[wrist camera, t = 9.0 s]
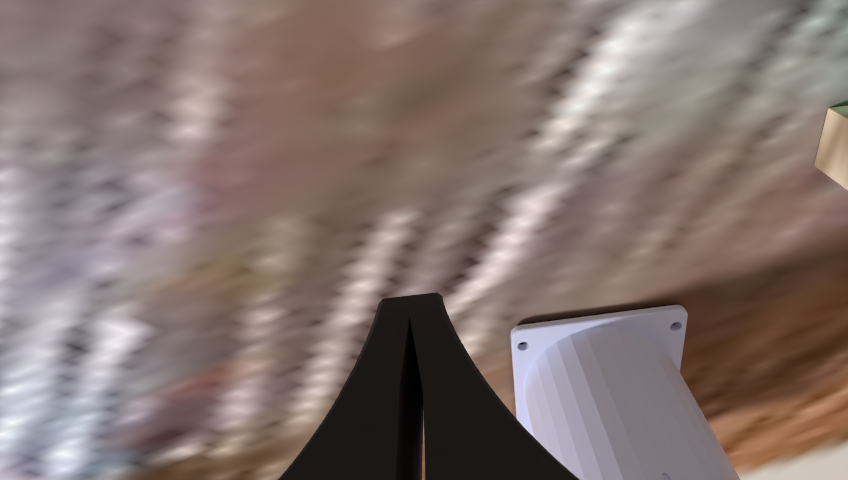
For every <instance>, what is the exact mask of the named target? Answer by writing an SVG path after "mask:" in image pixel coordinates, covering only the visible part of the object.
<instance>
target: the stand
mask: <svg viewBox="0 0 848 480" xmlns="http://www.w3.org/2000/svg"><path fill="white" fill-rule="evenodd" d="M814 166H815V167H817V168H818V169H819V170H821V171H822V172H824V173H825V174H826V175H828V176H829V177H830V178H832V179H833V180H835V181H836V182H837V183H839V184H840V185H842V186H843V187H844V188H846V189H847V190H848V105H847V106H840V107H833V108H828V112H827V116H826V120H825V124H824V128H823V132H822V136H821V140H820V144H819V148H818V152H817V156H816V160H815V164H814Z"/></svg>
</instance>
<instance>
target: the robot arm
mask: <svg viewBox="0 0 848 480" xmlns="http://www.w3.org/2000/svg"><path fill="white" fill-rule="evenodd" d="M687 318H688V314H687V312H686V310H685V309H684V307H683V306H681V305H670V306H662V307H655V308H647V309H639V310H632V311H624V312H616V313H609V314H601V315H593V316H586V317H578V318H570V319H562V320H555V321H547V322H539V323H532V324H524V325H519V326H516V327H515V328H513V329H512V331H511V349H512V363H513V377H514V391H515V405H516V418H515V417H514V415H513V414H512V413H511V412H510V411H509V410H508V408H507V407H506V406H505V405H504V404H503V402H502V401H501V400H500V399H499V398H498V396H497V395H496V394H495V392H494V391H493V390H492V388H491V387H490V386H489V384H488V383H487V382H486V380H485V379H484V377H483V376H482V374H481V373H480V372H479V370H478V369H477V367H476V366H475V364H474V362H473V361H472V359H471V358H470V356H469V354H468V353H467V351H466V349H465V348H464V346H463V344H462V343H461V341H460V339H459V337H458V335H457V333H456V332H455V329H454V327H453V325H452V323H451V321H450V319H449V316H448V314H447V312H446V309H445V306H444V303H443V298H442V296H441V295H440V294H438V293H428V294H420V295H411V296H403V297H395V298H386V299H382V301H381V302H380V303H379V305H378V309H377V312H376V315H375V318H374V321H373V324H372V327H371V329H370V332H369V334H368V337H367V339H366V342H365V344H364V346H363V348H362V351H361V353H360V355H359V357H358V359H357V362H356V364H355V366H354V368H353V370H352V372H351V374H350V375H349V377H348V379H347V381H346V383H345V385H344V387H343V388H342V390H341V392H340V394H339V396H338V398H337V399H336V401H335V403H334V404H333V406H332V408H331V409H330V411H329V412H328V414H327V415H326V417H325V419H324V420H323V422H322V423H321V425H320V426H319V428H318V429H317V431H316V432H315V433H314V435H313V436H312V437H311V439H310V440H309V442H308V443H307V444H306V446H305V447H304V448H303V450H302V451H301V452H300V454H299V455H298V456H297V458H296V459H295V460H294V461H293V463H292V464H291V465H290V466H289V468H288V469H287V470H286V471H285V472H284V474H283V475H282V476H281V477H280V478H279V479H278V480H422V445H423V406H424V435H425V480H740V479H739V477H738V475H737V473H736V472H735V470H734V468H733V466H732V464H731V463H730V461H729V459H728V457H727V455H726V454H725V452H724V450H723V448H722V447H721V445H720V443H719V441H718V439H717V438H716V436H715V434H714V432H713V431H712V429H711V427H710V425H709V423H708V422H707V420H706V418H705V416H704V414H703V413H702V411H701V409H700V407H699V406H698V404H697V402H696V400H695V398H694V397H693V395H692V393H691V391H690V390H689V388H688V386H687V384H686V382H685V381H684V379H683V377H682V375H681V374H680V367H681V360H682V353H683V346H684V339H685V332H686V325H687ZM676 322H677V323H676ZM673 323H676V324H674V325H672V324H673ZM521 342H526V343H525V344H522V345H519V343H521Z"/></svg>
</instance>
